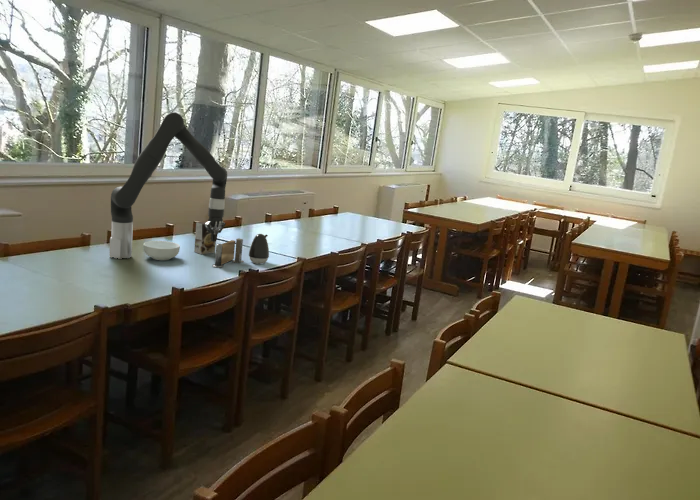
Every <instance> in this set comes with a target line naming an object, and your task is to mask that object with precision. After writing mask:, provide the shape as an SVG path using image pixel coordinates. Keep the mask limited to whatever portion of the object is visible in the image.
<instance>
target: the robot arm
mask: <svg viewBox="0 0 700 500" xmlns="http://www.w3.org/2000/svg"><path fill="white" fill-rule="evenodd" d="M174 138H176V139H177V140H178V141H179V142H180V143H181V144H182V145H183V146H184V147H185V148H186V149H187V150H188V152H189V153H190V154H191V155H192V156H193V157H194V158H195V160H196V162H197V161H198V163H199V164H200V165H201V166H202V167H203V169H205V170H206V173H208V175H209V176H210V177H211V179H212V185H211V188H210V194H209V195H210V196H209V201H208V212H207V215H208V217H209V218H208V219H207V221H208V222H207V221H206V222H207V223H205V224H204V226H205V227H206V229H207V231H208V233H211V241H213V242H216V243H217V240H218V235H219V234H221V232H222V231H223V229H224V228H225V226H226V224H227V223H226V222H224V220H223V218H224V216H225V206H226V205H225V204H226V201H225V200H226V199H225V197H226V186H227V181H228V180H227V179H228V171H227V169H225V167H222V166H221V165H220V164H219V163H218V162H217V161H216V159H215V157H214V156H213V154H212V153H211V152H210V151H209V150H208V149H207V148H206V147H205V146H204V145H203V144H202V143H201V142H200V141H199V140H197V138H196V137H195V136H193V135H192V133H191V132H190V131H189V130H188V128H187V126H186V125H185V122H184V118H183V117H182V115H181V114H179V112H175V111H174V112H173V111H172V112H169V113H167V114H166V115H165V116H164V117H163V120H162V121H161V124H160V126H159V128H158V129H157V131H156V133H155V134H154V136H153V137H152V138H151V139H150V140H149V141H148V143H147V144H146V145H145V146H144V148H143V149H142V150H141V152H140V153H139V155H138V157H137V158H136V160H135V162H134V164H133V167H132V171H131V173H130V176H129V177H128V179H127V181H126V182H125V183H124V184H123V185H122V186H116V187H115V188H114V189H113V190H112V191H111V194H110V215H111V231H110V232H111V236H110V238H109V256H110V257H109V256H108V257H109V258H112V257H114V258H113V259H117V258H118V260H122V258H127V259H131V258H132V255H133V234H134V233H133V227H134V226H133V225H134V216H133V213H132V212H133V210H132V206H134V204H135V202H136V200H137V198H138V197H139V195H140V193H141V191H142V189H143V188H144V186H145V184H146V183H147V182H148V180H149V179H150V177H151V176H152V174H153V173H154V172H155V170H157V168H158V166H159V164H160V163H161V162H162V160H163V158H164V155H165V154H166V151H167V150H168V147H169V145H170V143H171V142H172V141H173V140H174ZM130 257H131V258H130Z"/></svg>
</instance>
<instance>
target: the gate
mask: <svg viewBox="0 0 700 500" xmlns="http://www.w3.org/2000/svg"><path fill="white" fill-rule="evenodd" d="M221 244H222V255H221V265H224V264H227V263H228V262H230V261H231V262H232V261H233V260H235V251H236V240H233V239H232V240H228V241H226V242H223V243H221Z"/></svg>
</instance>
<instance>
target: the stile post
mask: <svg viewBox="0 0 700 500" xmlns="http://www.w3.org/2000/svg"><path fill="white" fill-rule="evenodd" d="M235 241H236V242H235V250H234V259H233V260H231V263H234V264H238V265H240V264H242V263H244V262H245V260H242V255H243V243H244V238H240V237H239V238H236V240H235Z"/></svg>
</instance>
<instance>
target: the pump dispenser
mask: <svg viewBox="0 0 700 500" xmlns="http://www.w3.org/2000/svg"><path fill="white" fill-rule="evenodd" d="M267 239H268V234H262V233H257V234H256V235H255V236H254V238H253V239H252V241H251V244H250V247H249V252H248V257H249V260H250V261H251V262H252V263H253V264H256V265H264V264H265V263H266V262H267V261H268V259H269V258H270V250H269V249H270V248H269V243H268V240H267Z"/></svg>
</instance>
